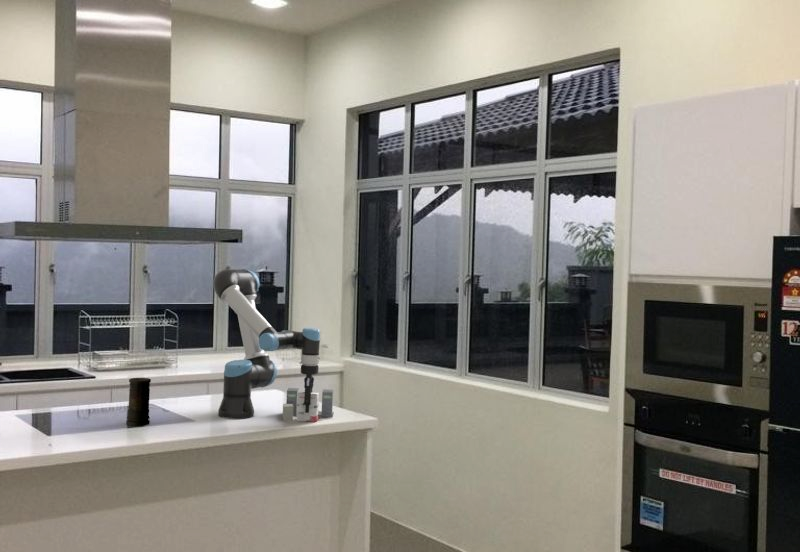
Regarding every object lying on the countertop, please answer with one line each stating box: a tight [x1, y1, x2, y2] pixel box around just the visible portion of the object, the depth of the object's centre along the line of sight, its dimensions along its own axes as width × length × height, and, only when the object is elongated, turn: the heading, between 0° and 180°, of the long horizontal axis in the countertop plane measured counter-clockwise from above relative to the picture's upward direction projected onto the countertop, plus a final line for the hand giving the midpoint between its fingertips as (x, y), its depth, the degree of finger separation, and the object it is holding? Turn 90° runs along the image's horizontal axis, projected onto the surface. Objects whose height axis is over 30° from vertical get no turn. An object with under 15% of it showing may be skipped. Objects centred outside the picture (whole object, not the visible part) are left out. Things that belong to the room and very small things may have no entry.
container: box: [125, 377, 152, 427], centre depth 317 cm, size 9×9×18 cm
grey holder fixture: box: [285, 387, 335, 418], centre depth 351 cm, size 21×8×11 cm, turn 92°
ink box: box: [296, 391, 320, 423], centre depth 339 cm, size 9×5×12 cm, turn 84°
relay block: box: [282, 403, 294, 421], centre depth 340 cm, size 4×6×6 cm, turn 12°
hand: (307, 418), depth 339 cm, fingers closed on ink box, 5 cm apart
